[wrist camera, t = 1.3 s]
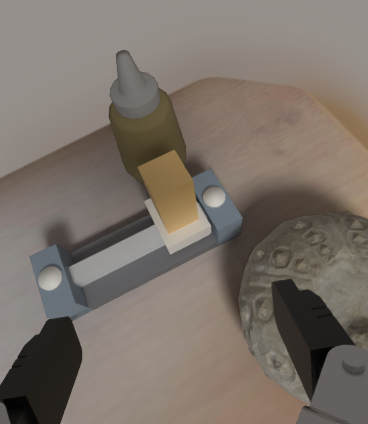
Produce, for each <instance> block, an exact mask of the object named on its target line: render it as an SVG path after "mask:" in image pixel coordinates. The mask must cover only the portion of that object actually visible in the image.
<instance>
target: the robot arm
mask: <svg viewBox="0 0 368 424" xmlns="http://www.w3.org/2000/svg"><path fill="white" fill-rule="evenodd" d="M271 288H272V298H273V308H274V317H275V322H276V325H277V329H278V331H279V334H280V336H281V338H282V340H283V342H284V345H285V347H286V349H287V351H288V354H289V356H290V358H291V360H292V363H293V365H294V367H295V369H296V371H297V374H298V376H299V378H300V380H301V383H302V385H303V387H304V389H305V392H306V394H307V396H308V398H309V400H310V406H309V407H307V406H304V407H303V408H302V410H301V412H300V414H299V417H298V420H297V423H296V424H368V351H367V350H366V349H363V348H361V347H358V346H356V345H355V343H354V342H353V341H352V339H351V338H350V337H349V335H348V334H347V333H346V331H345V330H344V329H343V327H342V326H341V324H340V323H339V322H338V320H337V319H336V318H335V316H333V314H332V312H331V311H330V309H329V308H327V305H326V304H325V303H324V301H323V300H322V299H321V297H320V296H318V295H317V294H315V293H314V292H312V291H310V290H309V289H307V290H301V291H299V289H298V288H297V286H296V284H295V283H294V281H293V280H292V279H285V280H279V281H274V282H272V283H271ZM81 362H82V348H81V345H80V342H79V339H78V337H77V334H76V331H75V328H74V326H73V323H72V320H71V318H70V317H69V316H65V317H60V318H54V319H49V320H47V321H46V323H45V325H44V327H43V328H42V330H41V332H40V334H38V335H35V336H34V337H33V338H32V339H31V340H30V341H29V342H28V343H27V344H26V345H24V347H23V349H22V350H21V352H20V354H19V355H18V359H16V360H15V362H14V364H13V365H12V369H10V370H9V372H8V374H7V375H6V377H5V379H4V380H3V382H2V384H1V385H0V424H60V423H61V420H62V417H63V414H64V411H65V408H66V406H67V403H68V400H69V397H70V394H71V391H72V388H73V385H74V383H75V380H76V377H77V374H78V371H79V368H80V365H81Z"/></svg>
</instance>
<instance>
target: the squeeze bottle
mask: <svg viewBox="0 0 368 424" xmlns="http://www.w3.org/2000/svg"><path fill="white" fill-rule="evenodd" d="M116 63H117V72H118V79H116V80H115V81H114V83H113V84H112V86H111V88H110V97H111V100H112V103H111V105H110V107H109V119H110V122H111V125H112V129H113V132H114V135H115V138H116V142H117V145H118V148H119V151H120V155H121V158H122V161H123V164H124V166H125V168H126V171H127V172H128V173H129V174H130V175H131V176H133V177H134V178H135V179H137V180H138V181H140V182H141V183H143V184H144V181H143V179H142V177H141V174H140V172H139V170H138V167H139V166H141V165H143V164H145V163H147V162H149V161H151V160H153V159H156V158H158V157H160V156H162V155H164V154H166V153H168V152H170V151H173V150H175V151H176V153H177V155H178V156H179V158H180V159H181V161H182V163H183V164H184V161H185V159H186V145H185V142H184V139H183V136H182V133H181V130H180V127H179V124H178V121H177V118H176V115H175V112H174V109H173V106H172V103H171V100H170V99H169V97H168V95H167V93H166V92H164V91H163V90H161V89H160V88H159V87H158V83H157V82H156V80H155V78H154V77H153V76H151V75H150V74H148V73H145V72H140V71H139V69H138V68H137V66H136V64H135V62H134V61H133V59H132V57H131V56H130V53H129V52H128V51H126V50H122V51H120V52H118V53H117V54H116Z"/></svg>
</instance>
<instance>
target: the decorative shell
mask: <svg viewBox="0 0 368 424" xmlns="http://www.w3.org/2000/svg"><path fill="white" fill-rule="evenodd" d="M285 279H292V280H293V281H294V283H295V284H296V286H297V288H298V289H299V291H301V290H307V289H309V290H310V291H312V292H314V293H315V294H317V295H318V296H320V297H321V299H322V300H323V301H324V303H325V304H326V305H327V308H329V309H330V311H331V312H332V314H333V316H335V318H336V319H337V320H338V322H339V323H340V324H341V326H342V327H343V329H344V330H345V331H346V333H347V334H348V335H349V337H350V338H351V339H352V341H353V342H354V343H355V345H356V346H358V347H361V348H363V349H366V350H367V351H368V219H367V218H364V217H361V216H357V215H353V214H351V213H350V212H349V211H346V212H343V213H333V212H329V213H327V214H326V215H321V214H316V215H308V216H300V217H297V218H294V219H293V220H287V221H284V222H283V223H282V224H280V225H279V226H277V227H276V228H275V229H274V231H272V232H271V233H270V234H269V235H268V236H267V237H266V238H265V239H264V240H263V241H262V242H260V243H259V244H257V246H256V247H255V248H254V250H253V251H252V253H251V254H250V256H249V259H248V263H247V264H246V267H245V270H244V273H243V277H242V283H241V288H240V295H239V298H238V301H239V309H240V318H241V326H242V329H243V333H244V337H245V339H246V341H247V343H248V346H249V350H250V352H251V353H252V355H253V356H254V357H255V359H256V360H257V362H258V364H259V365H260V367H261V368H262V370H263V371H264V373H265V374H266V376H267V377H268V378H270V379H271V380H273V381H274V382H276V383H277V384H279V386H280V387H281V388H283V389H284V390H286V391H287V392H288V393H290V394H291V395H292V396H293V397H295V398H297V399H299V400H301V401H303V402H305V403H306V404H308V405H309V406H310V400H309V398H308V396H307V394H306V392H305V389H304V387H303V385H302V383H301V380H300V378H299V376H298V374H297V371H296V369H295V367H294V365H293V363H292V360H291V358H290V356H289V354H288V351H287V349H286V347H285V345H284V342H283V340H282V338H281V336H280V334H279V331H278V329H277V325H276V322H275V317H274V308H273V298H272V288H271V283H272V282H274V281H279V280H285Z"/></svg>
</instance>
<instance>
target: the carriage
mask: <svg viewBox="0 0 368 424" xmlns="http://www.w3.org/2000/svg"><path fill="white" fill-rule="evenodd" d="M138 170H139V172H140V174H141V177H142V179H143V181H144V184H145V186H146V188H147V191H148V193H149V195H150V199H148V200H146V201H144V203H145V205H146V207H147V209H148V211H149V213H150V215H151V217H152V219H153V221H154V223H155V225H156V227H157V229H158V231H159V233H160V235H161V237H162V239H163V241H164V243H165V245H166V247H167V249H168V251H169V253H170V255H171V254H173V253H175V252H177V251H179V250H181V249H183V248H185V247H186V246H188V245H190V244H192V243H194V242H196V241H198V240H200V239H202V238H204V237H206V236H208V235H210V233H211V225H210V223H209V222H208V220H207V218H206V217H205V215H204V213H203V211H202V210H201V208H200V206H199V205H198V203H197V201H196V196H195V190H194V183H193V179H192V178H191V176H190V174H189V173H188V171H187V169H186V168H185V166H184V164H183V163H182V161H181V159H180V158H179V156H178V155H177V153H176V151H175V150H173V151H170V152H168V153H166V154H164V155H162V156H160V157H158V158H156V159H153V160H151V161H149V162H147V163H145V164H143V165H141V166H139V167H138Z"/></svg>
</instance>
